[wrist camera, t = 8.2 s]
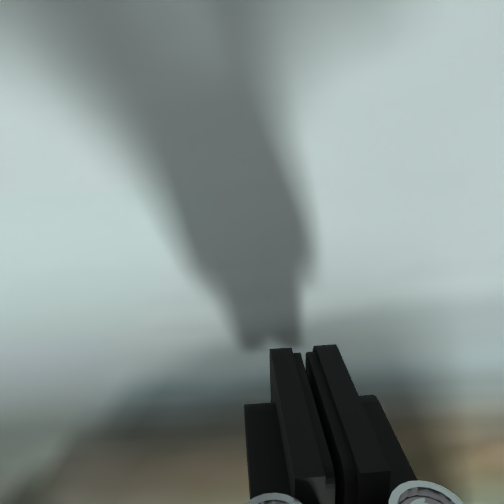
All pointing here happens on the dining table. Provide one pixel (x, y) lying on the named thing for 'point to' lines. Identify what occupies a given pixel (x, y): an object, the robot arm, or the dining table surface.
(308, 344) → the dining table surface
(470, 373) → the dining table surface
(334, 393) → the robot arm
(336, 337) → the dining table surface
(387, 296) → the dining table surface
